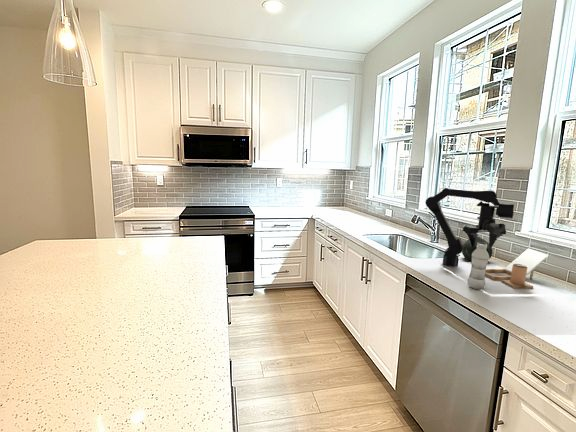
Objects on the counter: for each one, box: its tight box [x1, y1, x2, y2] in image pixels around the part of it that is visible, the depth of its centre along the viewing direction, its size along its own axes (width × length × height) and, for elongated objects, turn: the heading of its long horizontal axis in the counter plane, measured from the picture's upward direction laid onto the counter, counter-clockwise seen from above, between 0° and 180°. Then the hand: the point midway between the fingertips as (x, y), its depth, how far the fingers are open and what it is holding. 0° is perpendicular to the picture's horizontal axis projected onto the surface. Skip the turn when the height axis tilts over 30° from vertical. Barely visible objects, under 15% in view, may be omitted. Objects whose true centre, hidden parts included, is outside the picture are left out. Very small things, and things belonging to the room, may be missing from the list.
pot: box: [510, 264, 528, 285], centre depth 134 cm, size 5×5×8 cm
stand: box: [500, 280, 534, 290], centre depth 135 cm, size 9×7×2 cm
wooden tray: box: [485, 268, 511, 281], centre depth 146 cm, size 15×11×2 cm
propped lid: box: [504, 248, 550, 280], centre depth 147 cm, size 11×11×13 cm
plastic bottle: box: [467, 242, 490, 291], centre depth 131 cm, size 6×7×20 cm
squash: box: [461, 235, 493, 262], centre depth 173 cm, size 14×15×15 cm
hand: (481, 247), depth 151 cm, fingers open, 9 cm apart
